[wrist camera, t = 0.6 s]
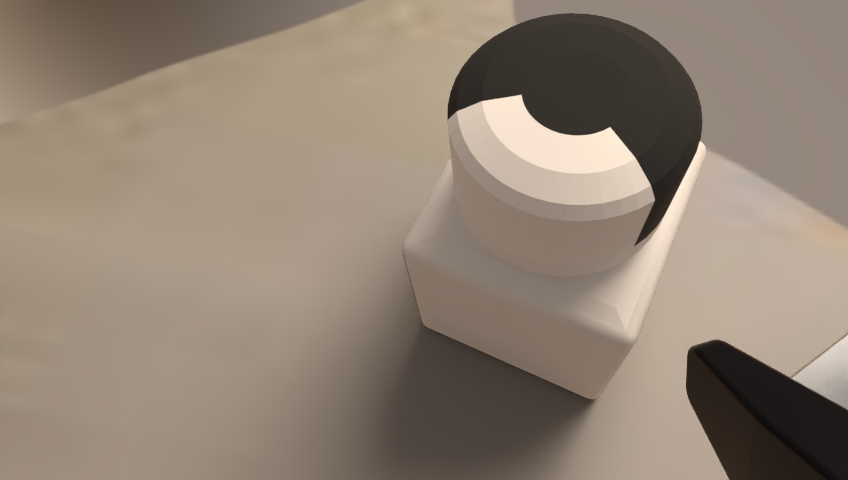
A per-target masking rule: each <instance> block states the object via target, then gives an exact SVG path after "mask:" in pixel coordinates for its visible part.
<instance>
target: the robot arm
mask: <svg viewBox="0 0 848 480" xmlns="http://www.w3.org/2000/svg"><path fill="white" fill-rule="evenodd" d="M686 390H687V395H688V398H689V401H690V403H691V405H692V407H693V409H694V411H695V413H696V415H697V417H698V419H699V421H700V423H701V425H702V427H703V429H704V431H705V433H706V435H707V437H708V439H709V441H710V443H711V445H712V447H713V448H714V450H715V452H716V454H717V456H718V458H719V460H720V462H721V464H722V466H723V468H724V470H725V472H726V474H727V476H728V478H729V480H848V409H846V408H844V407H842V406H840V405H839V404H837V403H835V402H833V401H831V400H830V399H828V398H826V397H824V396H822V395H820V394H819V393H817V392H815V391H813V390H811V389H810V388H808V387H806V386H804V385H802V384H801V383H799V382H797V381H795V380H793V379H791V378H790V377H788V376H786V375H784V374H782V373H781V372H779V371H777V370H775V369H773V368H772V367H770V366H768V365H766V364H764V363H763V362H761V361H759V360H757V359H755V358H753V357H752V356H750V355H748V354H746V353H744V352H743V351H741V350H739V349H737V348H735V347H734V346H732V345H730V344H728V343H726V342H724V341H721V340H711V341H708V342H705V343H701V344H698V345H695V346H692V347H691V348H690V349H689V351H688V355H687V375H686Z"/></svg>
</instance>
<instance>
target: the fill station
mask: <svg viewBox="0 0 848 480" xmlns="http://www.w3.org/2000/svg"><path fill="white" fill-rule="evenodd" d="M790 378H791V379H793V380H795V381H797V382H799V383H801V384H802V385H804V386H806V387H808V388H810V389H811V390H813V391H815V392H817V393H819V394H820V395H822V396H824V397H826V398H828V399H830V400H831V401H833V402H835V403H837V404H839V405H840V406H842V407H844V408H846V409H848V333H847V334H846V335H844V336H843V337H842V338H841V339H839V340H838V341H837V342H835V343H834V344H833V345H832V346H830V347H829V348H828V349H826V350H825V351H824V352H822V353H821V354H820V355H819V356H817V357H816V358H815V359H813V360H812V361H811V362H810V363H808V364H807V365H806V366H804V367H803V368H802V369H801V370H799V371H798V372H797V373H795V374H794V375H793V376H791V377H790Z"/></svg>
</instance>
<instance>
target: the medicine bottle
mask: <svg viewBox="0 0 848 480" xmlns="http://www.w3.org/2000/svg"><path fill="white" fill-rule="evenodd" d="M448 130H449V140H450V151H451V157H450V158H449V160H448V162H447V164H446V166H445V168H444V169H443V171H442V173H441V175H440V177H439V179H438V180H437V182H436V184H435V186H434V188H433V190H432V192H431V193H430V195H429V197H428V199H427V201H426V203H425V204H424V206H423V208H422V210H421V212H420V214H419V215H418V217H417V219H416V221H415V223H414V225H413V227H412V228H411V230H410V232H409V234H408V236H407V238H406V239H405V241H404V243H403V247H402V252H403V256H404V260H405V263H406V267H407V270H408V274H409V277H410V281H411V284H412V288H413V292H414V295H415V299H416V302H417V306H418V309H419V313H420V316H421V320H422V323H423V324H424V325H425V326H426V327H428V328H430V329H432V330H434V331H437V332H439V333H441V334H443V335H446V336H448V337H450V338H452V339H455V340H457V341H459V342H461V343H464V344H466V345H468V346H470V347H473V348H475V349H477V350H479V351H482V352H484V353H486V354H488V355H491V356H493V357H495V358H497V359H500V360H502V361H504V362H506V363H509V364H511V365H513V366H515V367H518V368H520V369H522V370H524V371H527V372H529V373H531V374H533V375H536V376H538V377H540V378H542V379H545V380H547V381H549V382H551V383H554V384H556V385H558V386H560V387H563V388H565V389H567V390H569V391H572V392H574V393H576V394H578V395H581V396H583V397H585V398H587V399H596V398H598V397H599V396H600V394H601V393H602V392H603V390H604V389H605V387H606V386H607V384H608V383H609V381H610V380H611V378H612V377H613V375H614V374H615V372H616V371H617V369H618V368H619V366H620V365H621V363H622V362H623V360H624V359H625V357H626V356H627V354H628V353H629V351H630V350H631V348H632V347H633V345H634V344H635V342H636V341H637V338H638V336H639V333H640V330H641V328H642V325H643V322H644V319H645V317H646V314H647V311H648V309H649V306H650V303H651V301H652V298H653V295H654V293H655V290H656V287H657V285H658V282H659V279H660V277H661V274H662V271H663V268H664V266H665V263H666V260H667V258H668V255H669V252H670V250H671V247H672V244H673V242H674V239H675V236H676V234H677V231H678V228H679V226H680V223H681V220H682V217H683V215H684V212H685V209H686V207H687V204H688V201H689V199H690V196H691V193H692V191H693V188H694V185H695V183H696V180H697V177H698V175H699V172H700V169H701V166H702V164H703V161H704V158H705V153H706V147H705V146H704V144H703V143H702V142H700V138H701V131H702V112H701V105H700V101H699V97H698V93H697V91H696V89H695V86H694V84H693V82H692V80H691V78H690V77H689V75H688V73H687V72H686V70H685V69H684V67H683V66H682V65H681V64H680V63H679V61H678V60H677V59H676V58H675V57H674V56H673V55H672V54H671V53H670V52H669V51H668V50H667V49H666V48H665V47H663V46H662V45H661V44H660V43H659V42H658V41H656V40H655V39H653V38H652V37H650V36H649V35H648V34H646V33H645V32H643V31H641V30H639V29H637V28H635V27H633V26H631V25H628V24H625V23H623V22H620V21H618V20H614V19H610V18H606V17H602V16H596V15H589V14H573V13H570V14H555V15H549V16H543V17H539V18H535V19H532V20H528V21H525V22H523V23H520V24H518V25H515V26H513V27H511V28H509V29H507V30H505V31H503V32H501V33H500V34H498V35H496V36H494V37H493V38H492V39H490V40H489V41H487V42H486V43H485V44H483V45H482V46H481V47H480V48H479V49H478V50H477V51H476V52H475V53H474V54H473V55H471V57H470V58H469V59H468V61H467V62H466V63H465V64H464V66H463V67H462V69H461V70H460V72H459V74H458V76H457V77H456V79H455V82H454V85H453V87H452V90H451V93H450V98H449V103H448Z"/></svg>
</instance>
